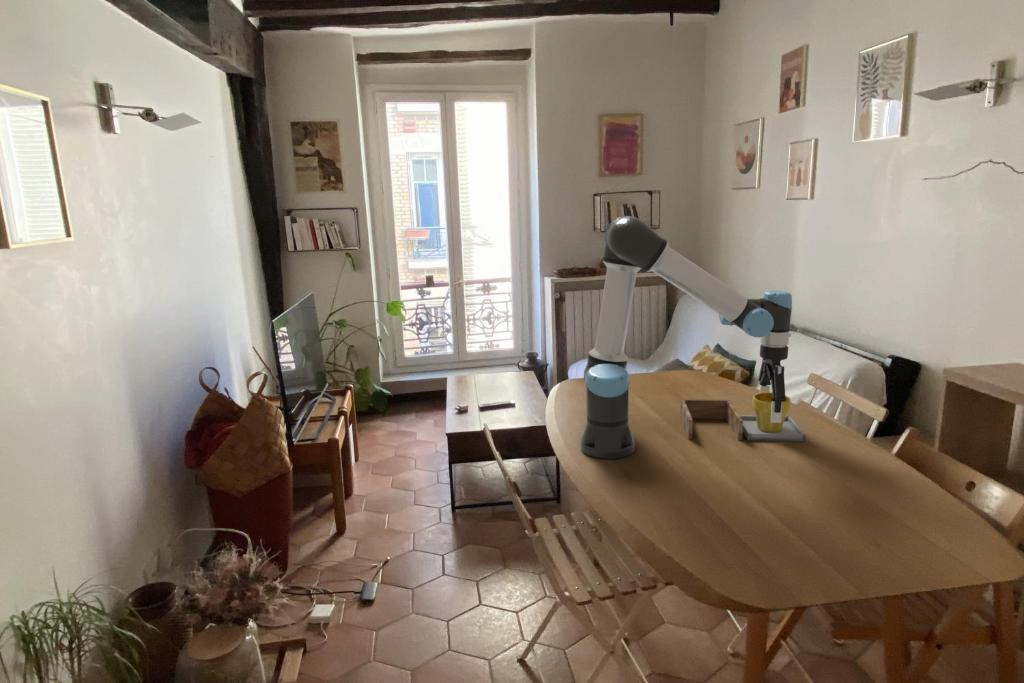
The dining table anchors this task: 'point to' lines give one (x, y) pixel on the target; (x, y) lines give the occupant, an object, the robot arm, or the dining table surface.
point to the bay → (710, 414)
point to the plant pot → (768, 411)
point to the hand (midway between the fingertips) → (769, 414)
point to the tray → (787, 432)
